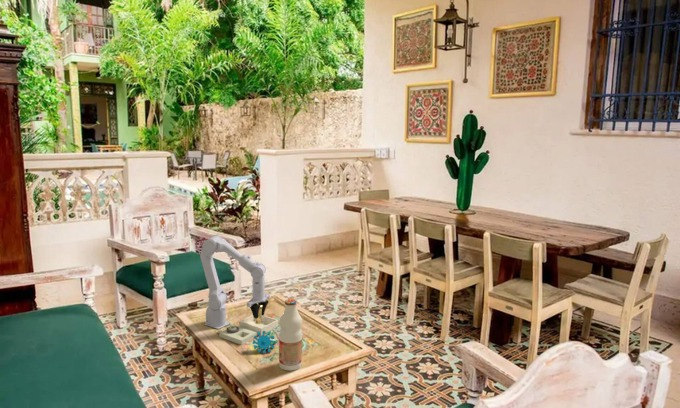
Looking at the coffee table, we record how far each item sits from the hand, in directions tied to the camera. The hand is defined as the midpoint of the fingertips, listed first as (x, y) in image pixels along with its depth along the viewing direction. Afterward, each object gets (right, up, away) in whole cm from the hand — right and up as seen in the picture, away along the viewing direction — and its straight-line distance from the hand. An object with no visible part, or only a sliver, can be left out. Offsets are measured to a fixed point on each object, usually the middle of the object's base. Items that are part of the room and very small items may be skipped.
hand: (258, 316), depth 226 cm
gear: (+7, -10, -21) cm, 24 cm away
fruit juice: (+19, -12, -34) cm, 41 cm away
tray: (0, -6, +1) cm, 6 cm away
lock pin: (0, -3, 0) cm, 3 cm away
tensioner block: (-8, -7, -9) cm, 14 cm away
